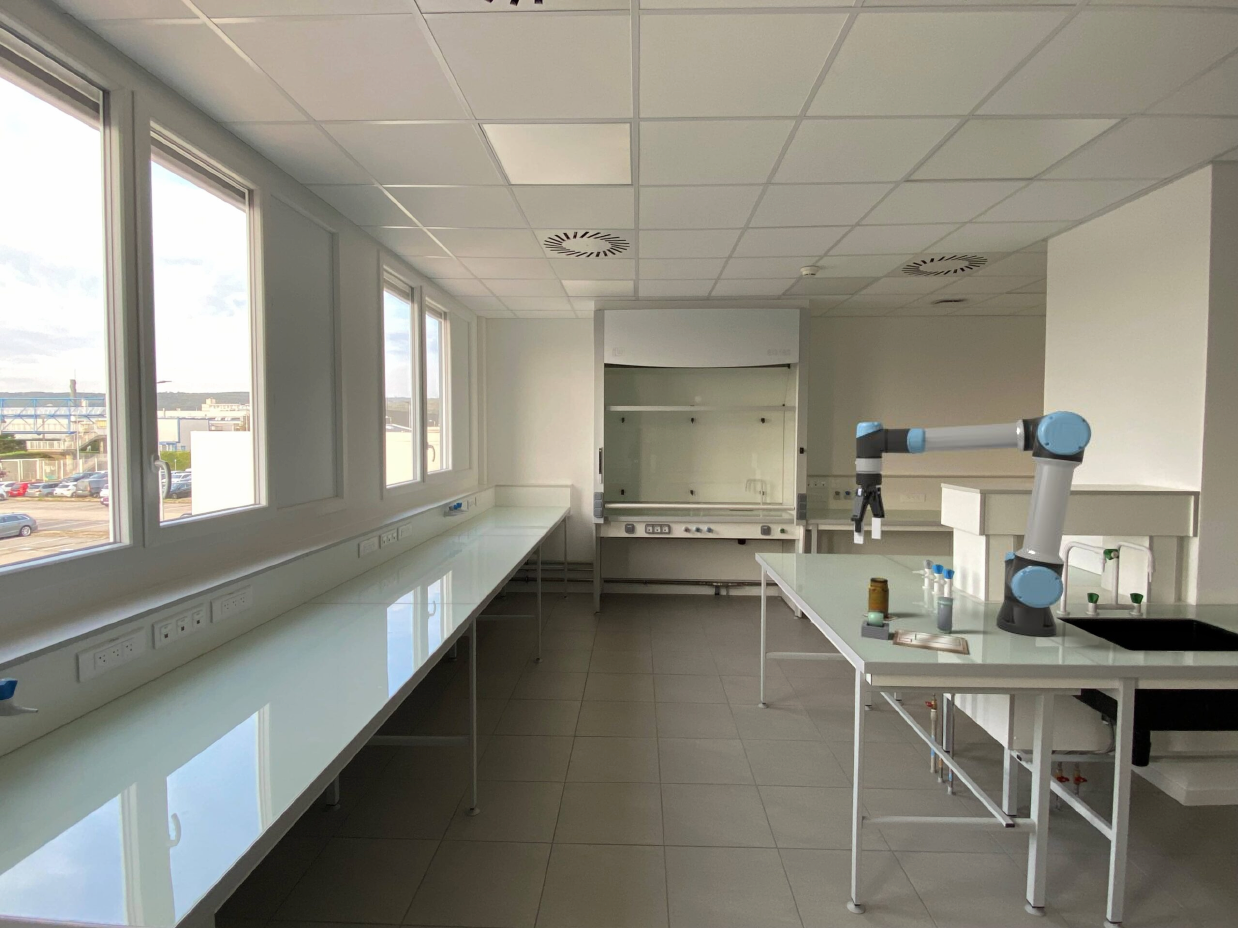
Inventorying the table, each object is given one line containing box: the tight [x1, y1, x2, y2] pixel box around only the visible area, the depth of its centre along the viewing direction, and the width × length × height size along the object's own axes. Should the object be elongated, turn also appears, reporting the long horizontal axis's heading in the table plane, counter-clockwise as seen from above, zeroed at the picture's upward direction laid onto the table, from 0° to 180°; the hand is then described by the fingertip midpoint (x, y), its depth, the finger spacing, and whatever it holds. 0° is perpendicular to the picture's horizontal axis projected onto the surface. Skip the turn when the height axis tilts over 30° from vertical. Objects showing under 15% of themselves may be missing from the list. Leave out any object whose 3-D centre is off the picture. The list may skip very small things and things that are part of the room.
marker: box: [936, 596, 954, 634], centre depth 187 cm, size 4×4×10 cm
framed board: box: [892, 628, 968, 656], centre depth 177 cm, size 18×14×1 cm
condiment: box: [863, 577, 899, 621], centre depth 203 cm, size 7×8×12 cm
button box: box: [860, 619, 890, 641], centre depth 183 cm, size 7×7×3 cm
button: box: [867, 612, 884, 626], centre depth 183 cm, size 4×4×3 cm
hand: (867, 540), depth 197 cm, fingers open, 13 cm apart
